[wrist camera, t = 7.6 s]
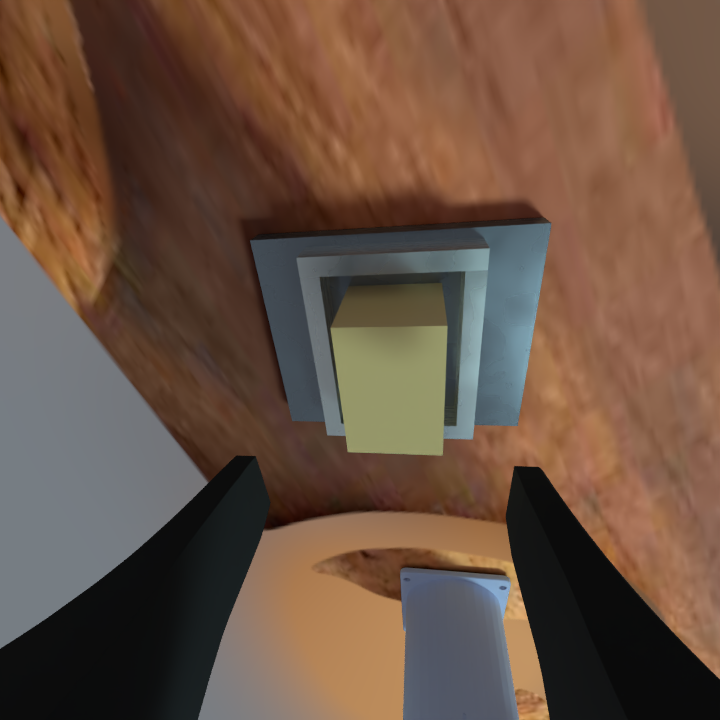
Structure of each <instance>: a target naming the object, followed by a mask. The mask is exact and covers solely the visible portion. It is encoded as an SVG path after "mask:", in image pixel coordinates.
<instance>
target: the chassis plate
mask: <svg viewBox="0 0 720 720" xmlns="http://www.w3.org/2000/svg"><path fill="white" fill-rule="evenodd" d="M550 229H551V222H549V221H548V220H547V219H546V218H544V217H543V218H526V219H509V220H493V221H476V222H459V223H443V224H426V225H409V226H393V227H376V228H359V229H343V230H326V231H309V232H293V233H276V234H259V235H257V236H256V237H254V238H253V239H251V240H250V243H251V247H252V251H253V255H254V260H255V264H256V268H257V272H258V277H259V281H260V285H261V289H262V294H263V298H264V302H265V307H266V311H267V315H268V319H269V324H270V328H271V332H272V336H273V341H274V345H275V349H276V353H277V358H278V362H279V366H280V370H281V375H282V379H283V383H284V387H285V392H286V396H287V400H288V404H289V409H290V413H291V417H292V421H321V422H325V423H326V429H327V435H337V436H346V434H345V427H344V420H343V413H342V406H341V399H340V392H339V384H338V377H337V370H336V363H335V356H334V349H333V342H332V335H331V326H332V323H333V321H334V319H335V316H336V314H337V312H338V309H339V307H340V305H341V302H342V300H343V298H344V295H345V293H346V291H347V289H348V286H367V285H396V284H425V283H442V288H443V295H444V303H445V311H446V318H447V353H446V380H445V407H444V434H443V438H445V439H473V431H474V425H503V426H518V420H519V414H520V408H521V402H522V396H523V390H524V384H525V378H526V372H527V366H528V360H529V354H530V348H531V342H532V336H533V330H534V324H535V318H536V312H537V306H538V300H539V294H540V288H541V282H542V276H543V270H544V264H545V258H546V252H547V246H548V241H549V235H550Z"/></svg>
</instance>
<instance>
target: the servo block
mask: <svg viewBox="0 0 720 720" xmlns="http://www.w3.org/2000/svg"><path fill="white" fill-rule="evenodd" d="M331 335H332V342H333V349H334V356H335V363H336V370H337V377H338V384H339V392H340V399H341V406H342V413H343V420H344V427H345V434H346V441H347V448H348V452H362V453H390V454H418V455H443V434H444V407H445V380H446V353H447V318H446V311H445V303H444V295H443V288H442V283H425V284H396V285H367V286H348V289H347V291H346V293H345V295H344V298H343V300H342V302H341V305H340V307H339V309H338V312H337V314H336V316H335V319H334V321H333V323H332V326H331Z"/></svg>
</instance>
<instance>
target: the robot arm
mask: <svg viewBox="0 0 720 720" xmlns="http://www.w3.org/2000/svg"><path fill="white" fill-rule="evenodd" d="M269 506H270V499H269V496H268V493H267V490H266V487H265V484H264V481H263V477H262V474H261V471H260V468H259V465H258V462H257V459H256V456H235V457H234V458H233V459H232V460H231V461H230V462H229V463H228V464H227V465H226V466H225V467H224V468H223V469H222V470H221V471H220V472H219V473H218V474H217V475H216V476H215V477H214V478H213V479H212V480H211V481H210V482H209V483H208V484H207V485H206V486H205V487H204V488H203V489H202V490H201V491H200V492H199V493H198V494H197V495H196V496H195V497H194V498H193V499H192V500H191V501H190V502H189V503H188V504H187V505H186V506H185V507H184V508H183V509H182V510H181V511H180V512H178V514H176V515H175V516H174V517H173V518H172V519H171V520H170V521H169V522H168V523H167V524H166V525H165V526H164V527H162V528H161V529H160V530H159V531H158V532H157V533H156V534H154V535H153V536H152V537H151V538H150V539H149V540H148V541H147V542H146V543H144V544H143V545H142V546H141V547H140V548H139V549H138V550H136V551H135V552H134V553H133V554H132V555H131V556H129V557H128V558H127V559H126V560H124V562H122V563H121V564H120V565H118V566H117V567H116V568H114V569H113V570H112V571H111V572H109V573H108V574H107V575H106V576H104V577H103V578H102V579H100V580H99V581H98V582H97V583H95V584H94V585H93V586H91V587H90V588H88V589H87V590H86V591H84V592H83V593H82V594H80V595H79V596H77V597H76V598H75V599H73V600H72V601H70V602H69V603H68V604H66V605H65V606H63V607H62V608H61V609H59V610H58V611H56V612H55V613H54V614H52V615H51V616H49V617H48V618H47V619H45V620H44V621H42V622H41V623H39V624H38V625H36V626H35V627H33V628H32V629H30V630H29V631H27V632H26V633H24V634H23V635H21V636H20V637H18V638H16V639H15V640H13V641H12V642H10V643H9V644H7V645H5V646H4V647H2V648H1V649H0V720H198V717H199V713H200V710H201V706H202V703H203V699H204V696H205V692H206V689H207V685H208V681H209V678H210V675H211V671H212V668H213V665H214V662H215V658H216V655H217V652H218V649H219V645H220V642H221V639H222V635H223V633H224V630H225V627H226V625H227V622H228V619H229V616H230V614H231V611H232V609H233V606H234V604H235V601H236V599H237V597H238V594H239V591H240V589H241V587H242V584H243V582H244V579H245V577H246V574H247V572H248V569H249V567H250V564H251V562H252V559H253V557H254V554H255V552H256V549H257V546H258V544H259V541H260V539H261V536H262V532H263V529H264V525H265V522H266V518H267V514H268V510H269ZM506 522H507V529H508V536H509V542H510V548H511V555H512V559H513V563H514V567H515V571H516V575H517V578H518V582H519V586H520V590H521V594H522V597H523V601H524V605H525V609H526V613H527V616H528V620H529V624H530V628H531V632H532V635H533V639H534V643H535V647H536V650H537V654H538V659H539V663H540V668H541V672H542V677H543V683H544V688H545V694H546V700H547V705H548V711H549V717H550V720H720V679H719V678H718V677H717V676H716V675H715V674H714V673H713V672H712V671H711V670H710V669H709V668H708V667H707V666H706V665H705V664H704V663H703V662H702V661H701V660H700V659H699V658H698V657H697V656H696V655H695V654H694V653H693V652H692V651H691V650H690V649H689V648H688V647H687V646H686V645H685V644H684V643H683V642H682V641H681V640H680V639H679V638H678V637H677V636H676V635H675V634H674V633H673V632H672V631H671V630H670V629H669V627H668V626H667V625H666V624H665V623H664V622H663V621H662V620H661V619H660V618H659V617H658V616H657V615H656V614H655V613H654V611H653V610H652V609H651V608H650V607H649V606H648V605H647V604H646V603H645V602H644V601H643V599H642V598H641V597H640V596H639V595H638V594H637V593H636V592H635V590H634V589H633V588H632V587H631V586H630V585H629V583H628V582H627V581H626V580H625V579H624V577H623V576H622V575H621V574H620V573H619V572H618V570H617V569H616V568H615V567H614V566H613V564H612V563H611V562H610V561H609V560H608V558H607V557H606V556H605V555H604V553H603V552H602V551H601V550H600V548H599V547H598V546H597V545H596V543H595V542H594V541H593V539H592V538H591V537H590V536H589V534H588V533H587V532H586V531H585V529H584V528H583V527H582V525H581V524H580V523H579V521H578V520H577V519H576V517H575V516H574V515H573V513H572V512H571V511H570V509H569V508H568V506H567V505H566V504H565V502H564V501H563V499H562V498H561V497H560V495H559V494H558V492H557V491H556V489H555V488H554V487H553V485H552V484H551V482H550V481H549V479H548V478H547V476H546V475H545V473H544V472H543V470H542V469H541V468H539V467H523V466H514V471H513V477H512V483H511V489H510V494H509V500H508V506H507V511H506ZM400 581H401V598H402V615H403V629H404V631H406V635H405V671H404V672H405V673H404V704H403V720H519V716H518V710H517V704H516V698H515V692H514V686H513V680H512V674H511V668H510V661H509V655H508V649H507V643H506V637H505V631H504V625H503V618H504V613H505V608H506V604H507V599H508V595H509V590H510V585H511V583H510V578H509V577H507V576H504V575H493V574H480V573H468V572H456V571H444V570H431V569H419V568H407V567H406V568H402V569H401V570H400Z"/></svg>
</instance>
